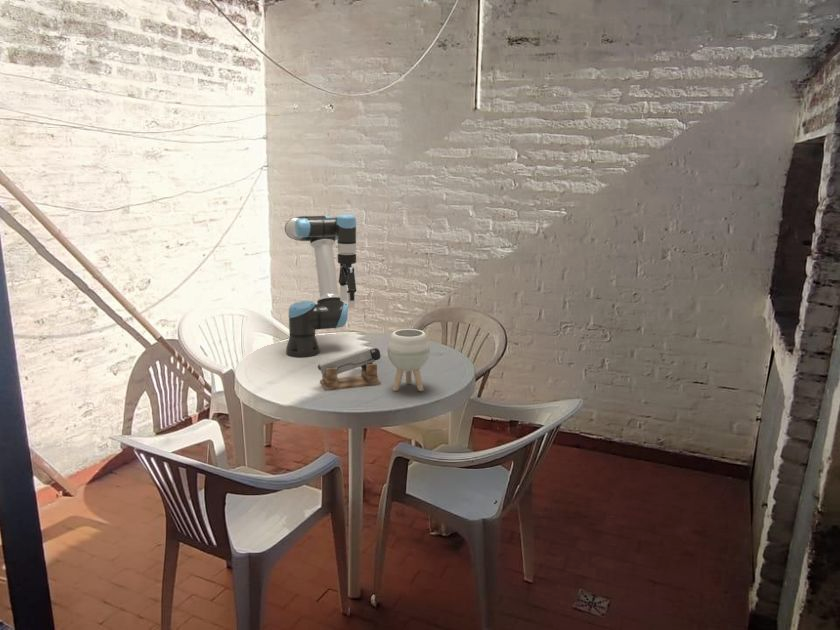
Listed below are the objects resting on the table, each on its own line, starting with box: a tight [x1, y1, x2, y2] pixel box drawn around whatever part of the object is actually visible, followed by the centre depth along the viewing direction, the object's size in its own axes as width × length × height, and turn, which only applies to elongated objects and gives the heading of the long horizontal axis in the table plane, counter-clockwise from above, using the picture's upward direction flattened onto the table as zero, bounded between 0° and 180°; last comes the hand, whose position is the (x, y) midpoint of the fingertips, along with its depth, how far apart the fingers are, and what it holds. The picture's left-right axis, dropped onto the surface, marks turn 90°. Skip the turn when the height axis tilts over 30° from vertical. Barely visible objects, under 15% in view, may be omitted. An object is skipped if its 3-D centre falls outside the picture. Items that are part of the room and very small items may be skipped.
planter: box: [387, 328, 431, 392], centre depth 245 cm, size 16×16×22 cm
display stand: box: [319, 363, 381, 391], centre depth 252 cm, size 22×10×8 cm, turn 110°
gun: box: [317, 347, 381, 378], centre depth 252 cm, size 2×25×10 cm, turn 110°
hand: (347, 304), depth 264 cm, fingers open, 13 cm apart
